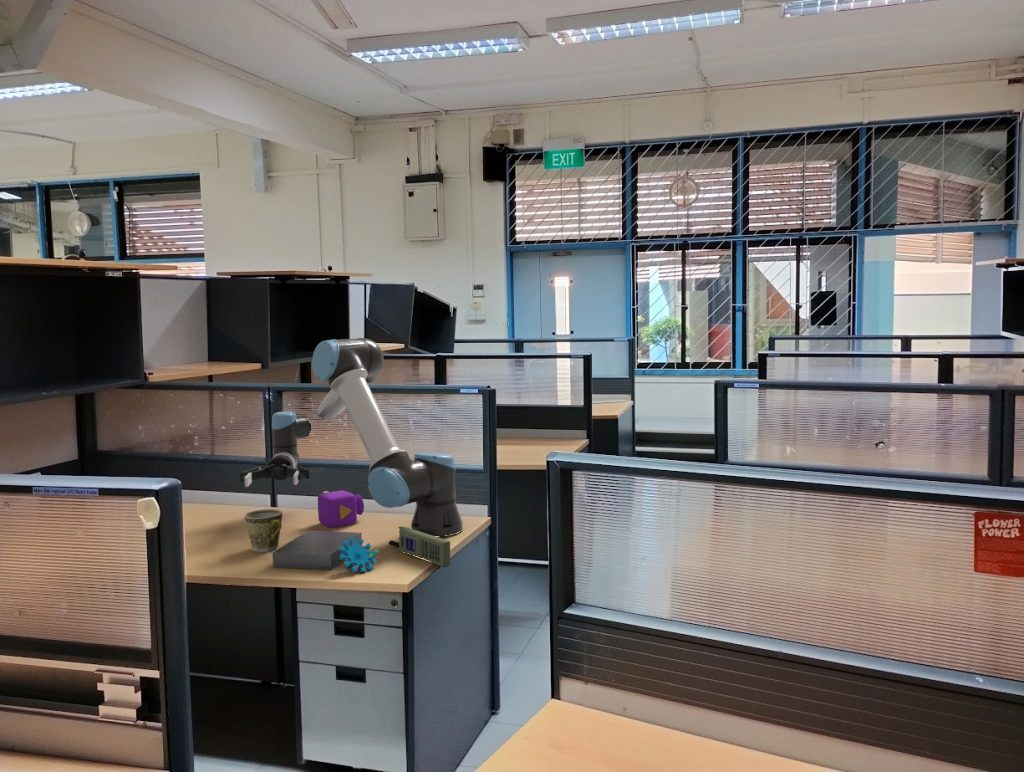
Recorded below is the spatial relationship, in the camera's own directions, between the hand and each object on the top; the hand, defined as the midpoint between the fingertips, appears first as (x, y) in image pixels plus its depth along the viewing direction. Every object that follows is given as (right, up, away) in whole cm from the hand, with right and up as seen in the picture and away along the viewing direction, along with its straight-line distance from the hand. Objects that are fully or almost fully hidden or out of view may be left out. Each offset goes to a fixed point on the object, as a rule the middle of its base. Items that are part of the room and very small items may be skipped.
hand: (270, 481), depth 230 cm
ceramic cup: (+2, -18, -9) cm, 20 cm away
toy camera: (+17, -15, +17) cm, 29 cm away
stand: (+18, -18, -17) cm, 30 cm away
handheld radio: (+44, -18, -18) cm, 51 cm away
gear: (+31, -19, -27) cm, 45 cm away
